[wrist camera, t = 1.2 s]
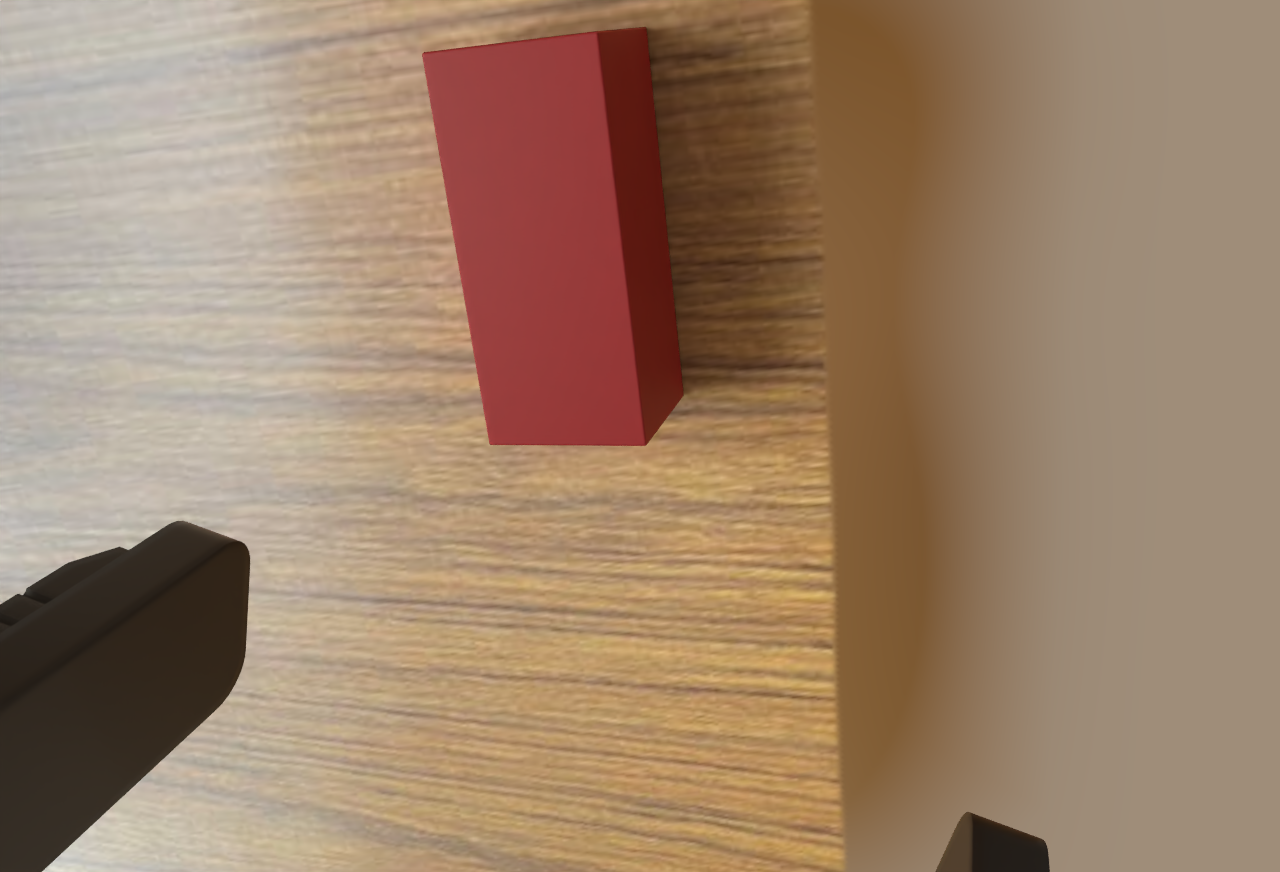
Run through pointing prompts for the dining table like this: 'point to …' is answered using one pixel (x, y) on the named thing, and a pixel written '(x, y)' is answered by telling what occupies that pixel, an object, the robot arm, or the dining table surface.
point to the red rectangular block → (560, 235)
